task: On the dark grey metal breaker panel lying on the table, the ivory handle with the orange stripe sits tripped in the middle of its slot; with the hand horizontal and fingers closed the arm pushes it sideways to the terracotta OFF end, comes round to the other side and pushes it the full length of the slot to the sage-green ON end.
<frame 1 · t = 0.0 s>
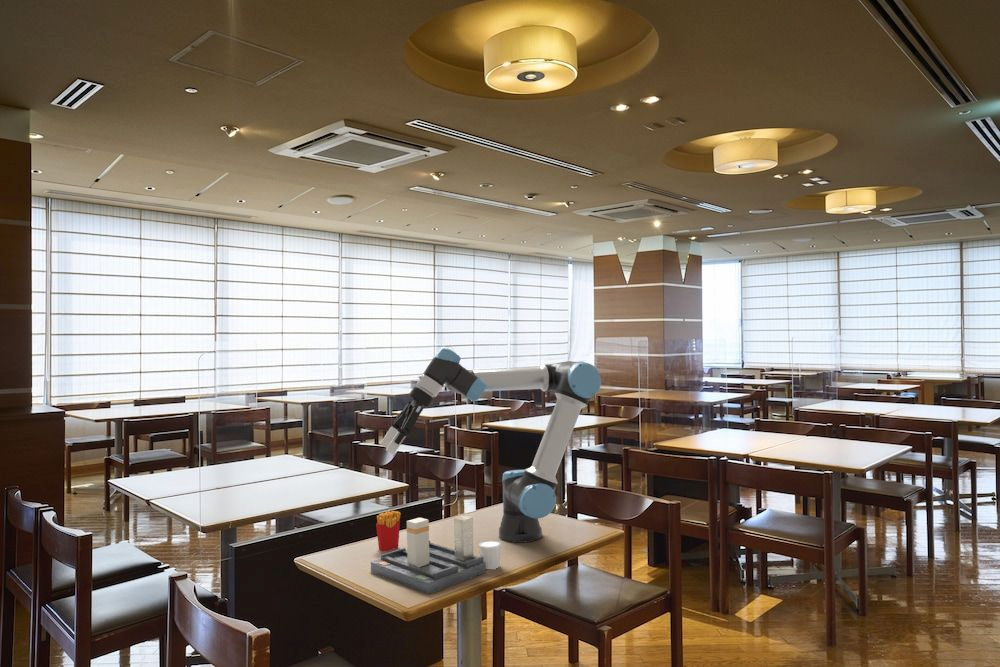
hand: (386, 449, 205), 36 cm above the table, tool tilted 35°, fingers open, 13 cm apart
white short cylinder: (490, 567, 201), on the table
french fries: (389, 548, 221), on the table
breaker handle: (418, 542, 195), point 10 cm above the table, slide at 0.0 cm
breaker panel: (427, 572, 197), on the table
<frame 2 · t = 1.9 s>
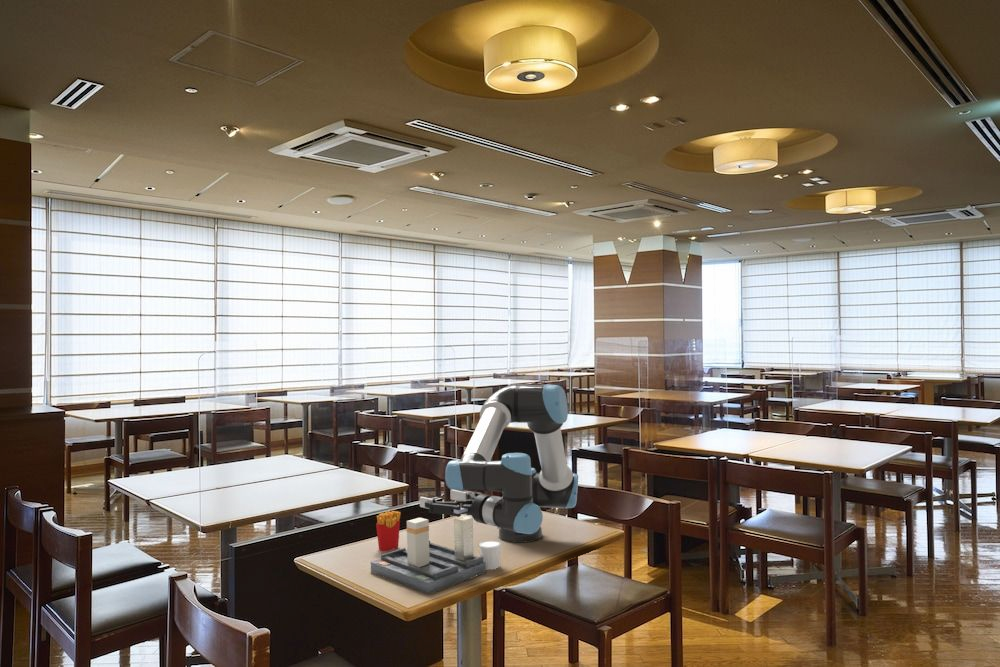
hand: (436, 497, 189), 24 cm above the table, tool horizontal, fingers open, 11 cm apart
nothing on the table moved.
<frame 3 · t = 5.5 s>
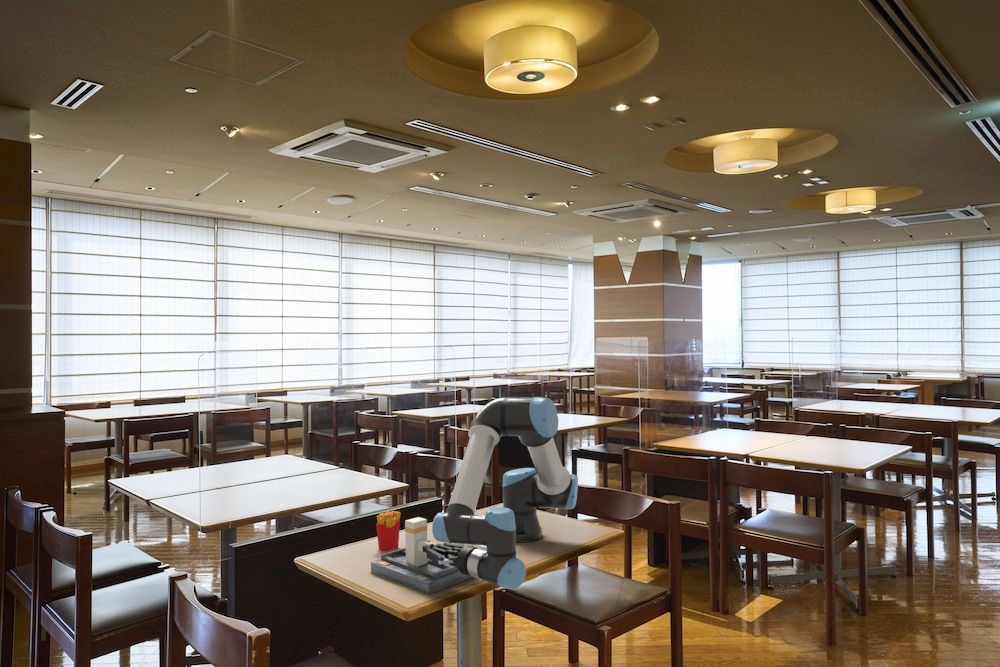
hand: (419, 545, 193), 9 cm above the table, tool horizontal, fingers closed
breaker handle: (416, 541, 195), point 10 cm above the table, slide at -0.8 cm, touching gripper
everything else where it was.
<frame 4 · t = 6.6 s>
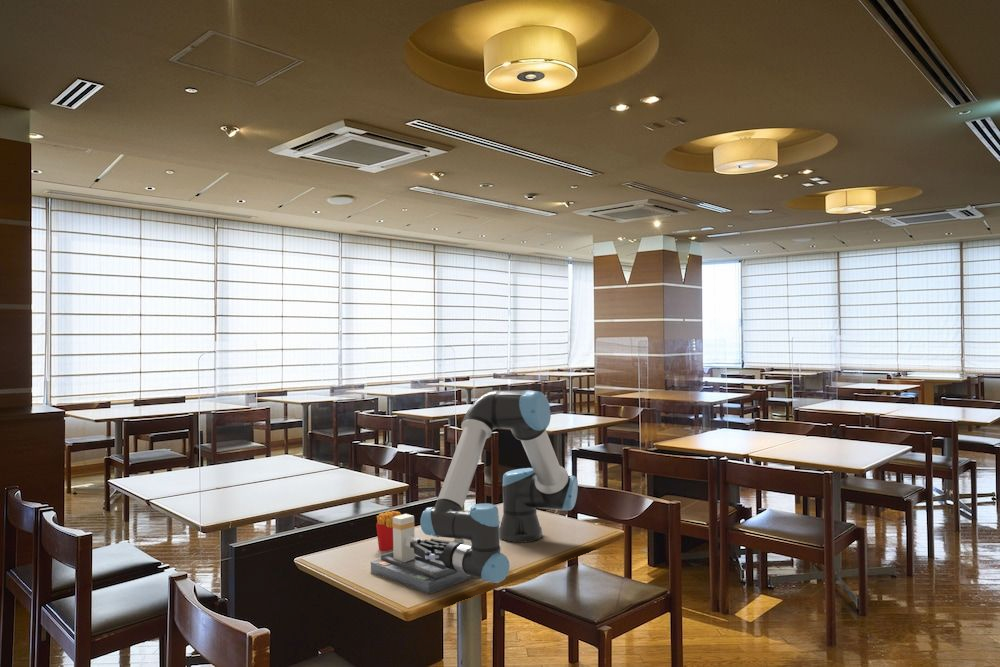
hand: (407, 540, 198), 9 cm above the table, tool horizontal, fingers closed
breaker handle: (403, 538, 200), point 10 cm above the table, slide at -6.8 cm, touching gripper
everything else where it was.
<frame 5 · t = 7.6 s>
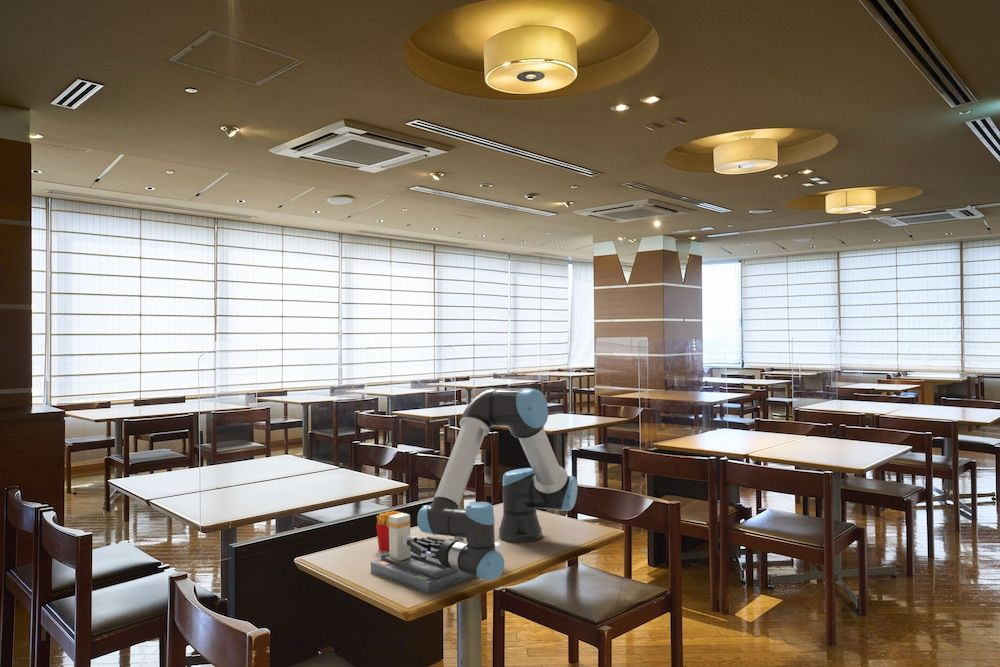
hand: (404, 538, 200), 9 cm above the table, tool horizontal, fingers closed
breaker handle: (399, 536, 201), point 10 cm above the table, slide at -8.8 cm, touching gripper
everything else where it was.
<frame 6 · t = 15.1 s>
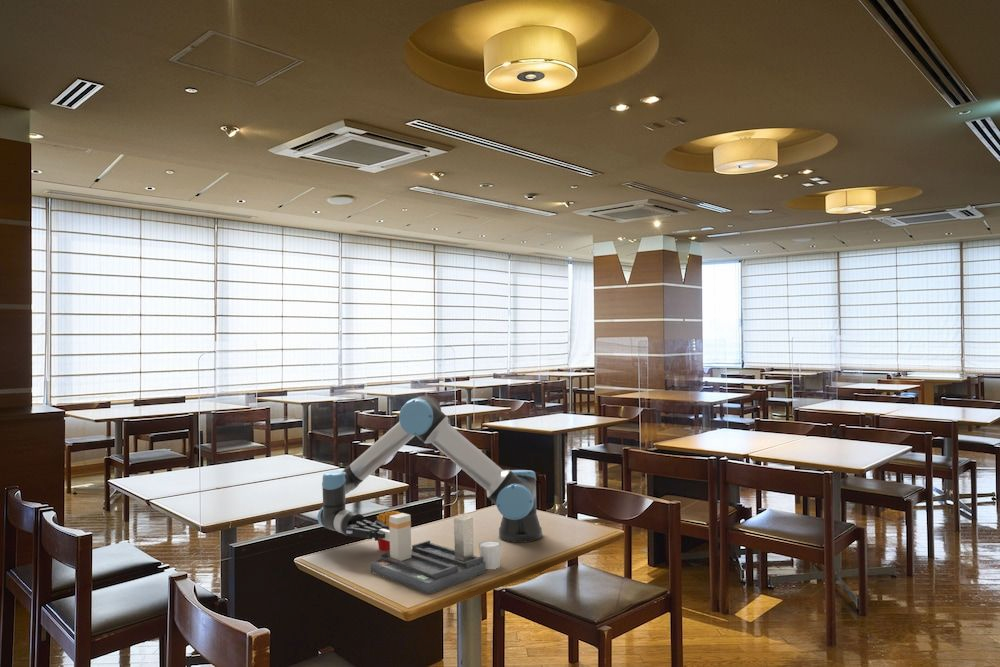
hand: (393, 537, 202), 9 cm above the table, tool horizontal, fingers closed
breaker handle: (400, 536, 201), point 10 cm above the table, slide at -8.5 cm, touching gripper
everything else where it was.
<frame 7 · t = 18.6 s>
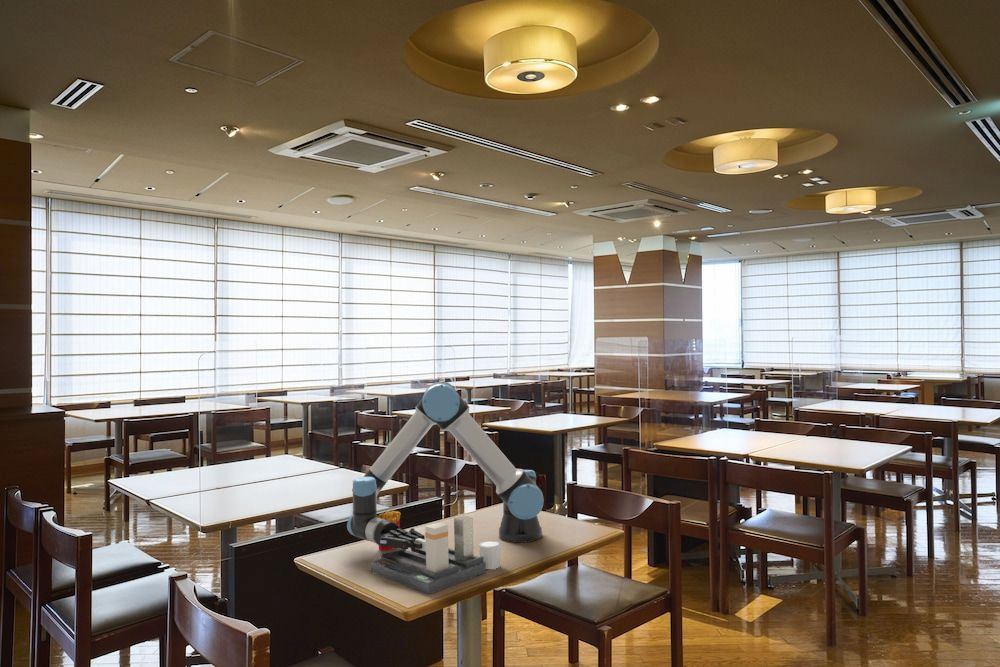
hand: (431, 547, 191), 9 cm above the table, tool horizontal, fingers closed
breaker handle: (437, 548, 189), point 10 cm above the table, slide at 8.6 cm, touching gripper
everything else where it was.
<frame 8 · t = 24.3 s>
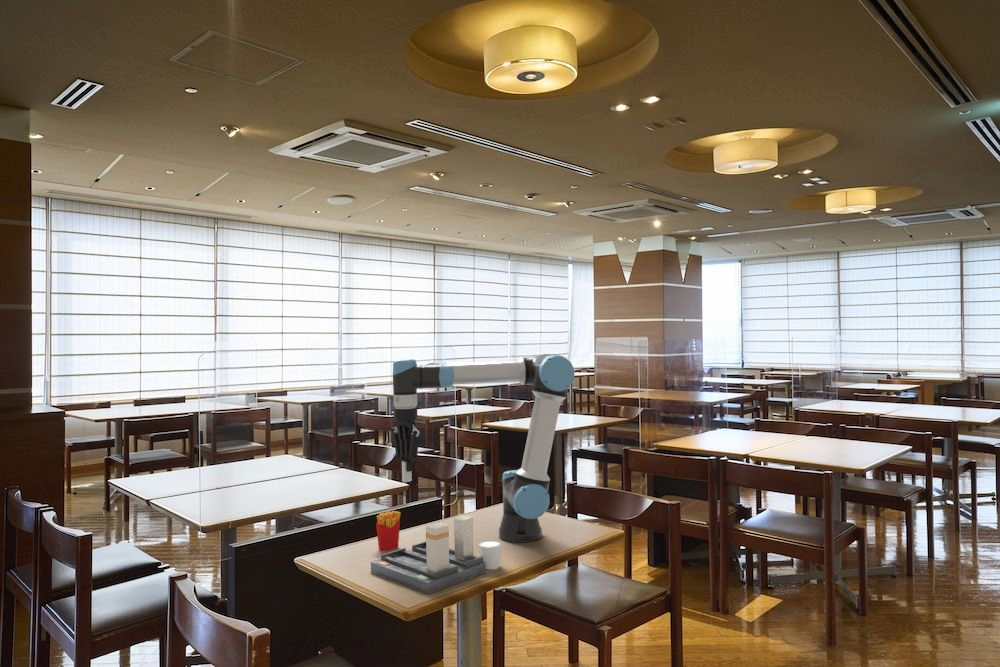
hand: (407, 481, 211), 24 cm above the table, tool pointing down, fingers closed
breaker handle: (437, 548, 189), point 10 cm above the table, slide at 8.8 cm
everything else where it was.
at the end: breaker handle slide at 8.8 cm; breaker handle 1.3 cm from the target spot, point 9.7 cm above the table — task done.
